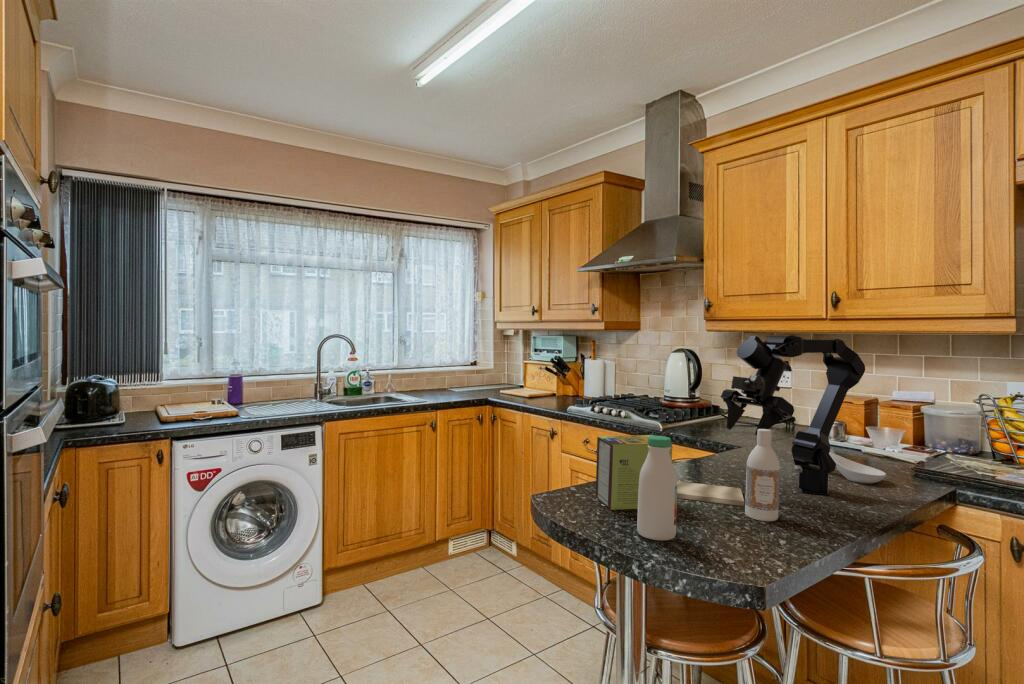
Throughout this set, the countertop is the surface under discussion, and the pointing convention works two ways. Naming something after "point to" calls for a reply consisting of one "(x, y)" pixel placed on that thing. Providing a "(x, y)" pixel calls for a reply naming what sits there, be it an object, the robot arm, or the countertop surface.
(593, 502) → the countertop surface
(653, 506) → the milk bottle
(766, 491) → the bath foam
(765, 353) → the robot arm
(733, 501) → the birch board
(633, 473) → the protein box
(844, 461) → the spoon rest
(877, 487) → the countertop surface
